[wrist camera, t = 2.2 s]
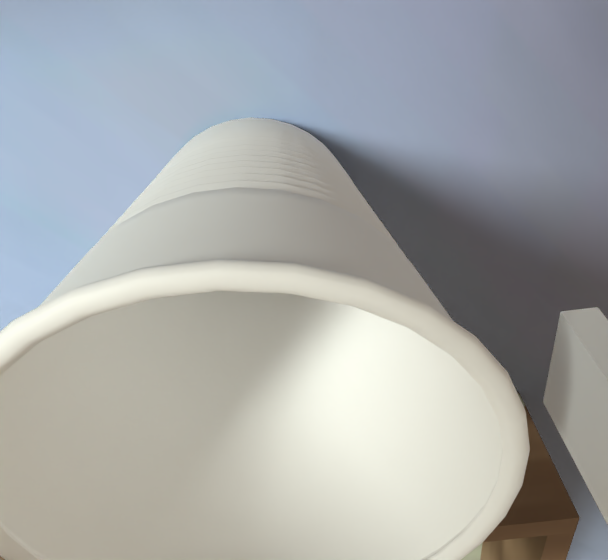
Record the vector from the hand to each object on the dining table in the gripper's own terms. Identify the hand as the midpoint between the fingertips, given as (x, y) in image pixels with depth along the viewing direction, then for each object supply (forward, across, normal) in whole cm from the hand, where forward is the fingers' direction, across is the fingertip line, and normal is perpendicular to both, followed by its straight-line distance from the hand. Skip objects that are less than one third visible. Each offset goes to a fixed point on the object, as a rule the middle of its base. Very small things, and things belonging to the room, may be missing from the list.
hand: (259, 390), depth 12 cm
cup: (+8, 0, +1) cm, 8 cm away
